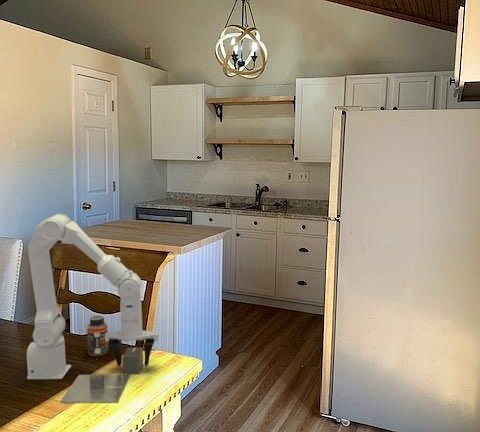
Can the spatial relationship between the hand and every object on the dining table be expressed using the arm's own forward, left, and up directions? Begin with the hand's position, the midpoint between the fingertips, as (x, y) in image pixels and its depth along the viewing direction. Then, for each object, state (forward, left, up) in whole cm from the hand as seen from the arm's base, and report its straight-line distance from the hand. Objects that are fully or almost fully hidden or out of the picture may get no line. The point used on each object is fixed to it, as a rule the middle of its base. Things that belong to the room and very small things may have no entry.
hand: (133, 364), depth 138 cm
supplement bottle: (-13, +11, -2) cm, 17 cm away
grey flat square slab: (-7, -11, -1) cm, 13 cm away
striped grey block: (0, 0, -1) cm, 1 cm away
